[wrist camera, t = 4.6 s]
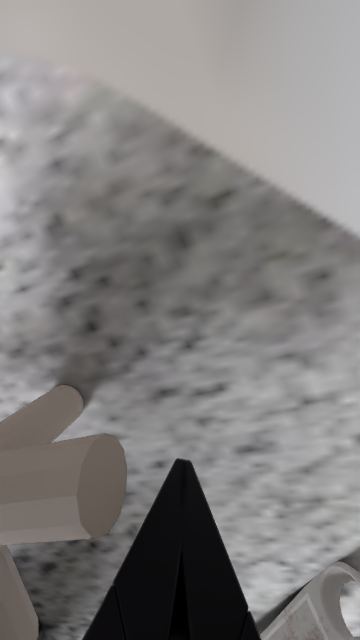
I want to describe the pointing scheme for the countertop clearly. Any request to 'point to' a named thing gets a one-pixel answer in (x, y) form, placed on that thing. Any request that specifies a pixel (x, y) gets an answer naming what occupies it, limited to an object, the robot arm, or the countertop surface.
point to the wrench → (315, 609)
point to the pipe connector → (51, 492)
